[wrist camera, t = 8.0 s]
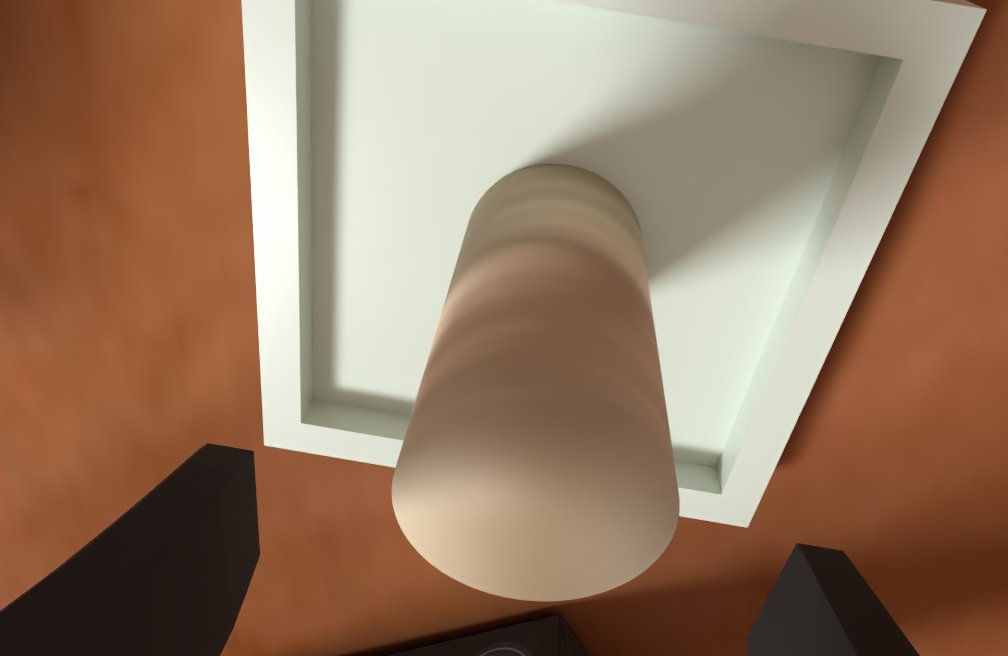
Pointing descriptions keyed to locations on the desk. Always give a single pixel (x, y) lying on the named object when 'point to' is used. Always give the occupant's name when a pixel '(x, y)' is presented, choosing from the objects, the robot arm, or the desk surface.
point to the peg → (542, 400)
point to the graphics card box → (510, 642)
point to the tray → (604, 151)
